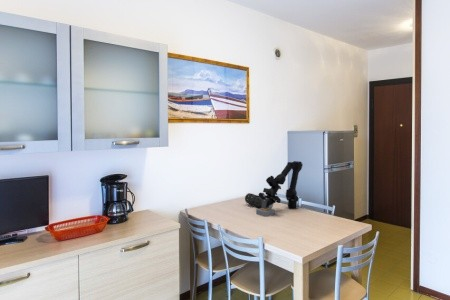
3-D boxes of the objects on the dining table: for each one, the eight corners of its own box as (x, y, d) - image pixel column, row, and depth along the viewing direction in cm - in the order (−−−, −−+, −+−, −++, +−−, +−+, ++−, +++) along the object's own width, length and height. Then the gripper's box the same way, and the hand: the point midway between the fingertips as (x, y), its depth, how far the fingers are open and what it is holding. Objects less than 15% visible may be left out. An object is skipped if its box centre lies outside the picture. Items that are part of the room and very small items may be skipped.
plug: (265, 213, 239) (265, 199, 238) (269, 214, 236) (269, 200, 235) (261, 214, 236) (261, 199, 236) (265, 215, 233) (265, 200, 233)
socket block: (264, 212, 243) (264, 207, 243) (274, 215, 236) (274, 209, 235) (256, 215, 237) (256, 209, 237) (265, 218, 229) (266, 212, 229)
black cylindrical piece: (253, 203, 273) (253, 192, 273) (273, 210, 249) (273, 198, 249) (244, 205, 269) (244, 193, 268) (264, 212, 244) (264, 199, 244)
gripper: (259, 182, 244) (250, 198, 238) (278, 185, 230) (268, 202, 224) (266, 190, 250) (257, 206, 244) (285, 194, 236) (275, 211, 229)
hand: (264, 206), depth 235 cm, fingers closed on plug, 4 cm apart
